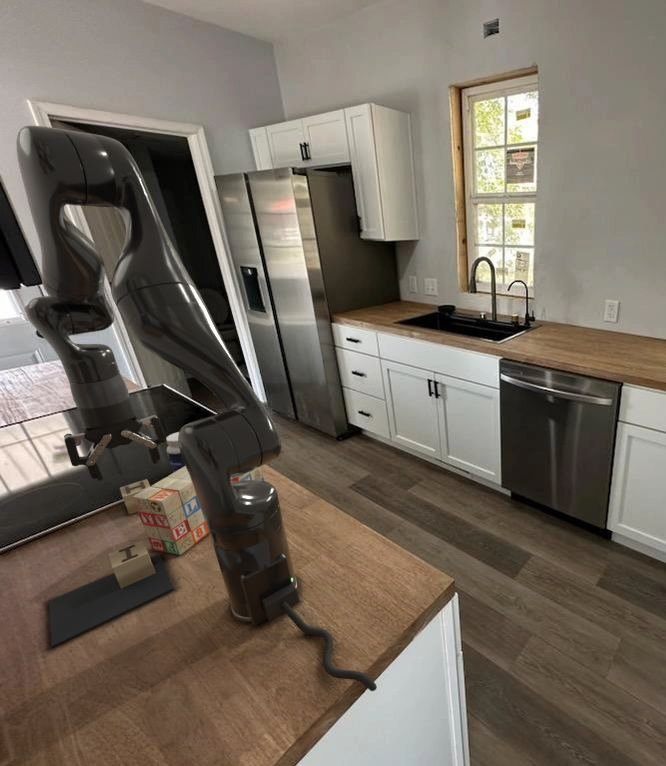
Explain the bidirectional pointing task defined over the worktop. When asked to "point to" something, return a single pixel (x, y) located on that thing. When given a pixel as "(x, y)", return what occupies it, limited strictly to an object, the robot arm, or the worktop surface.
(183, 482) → the stack of blocks
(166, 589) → the word mat
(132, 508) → the tile
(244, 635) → the worktop surface
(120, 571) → the tile
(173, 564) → the worktop surface
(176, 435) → the pill bottle
